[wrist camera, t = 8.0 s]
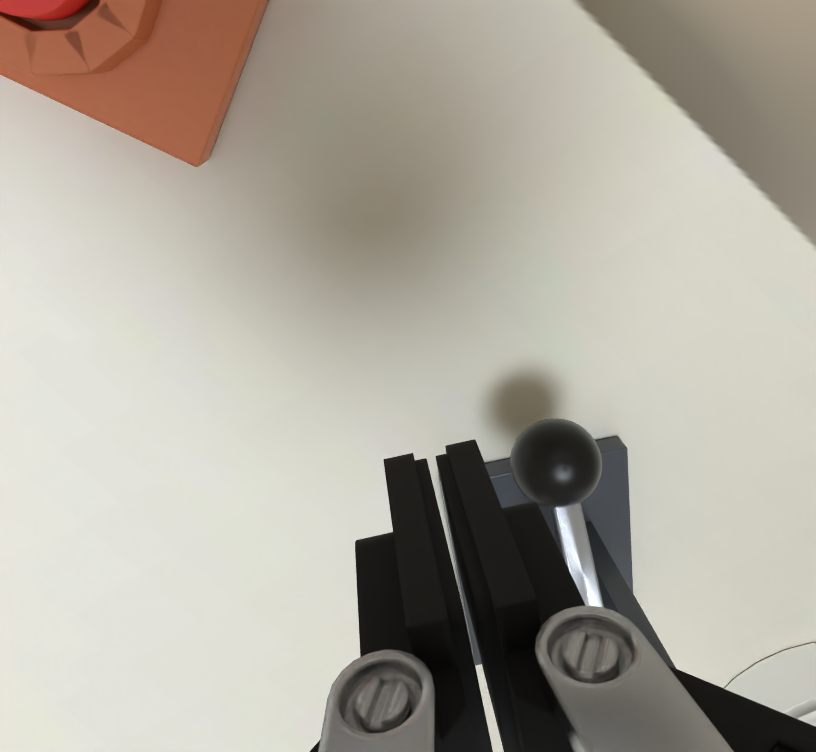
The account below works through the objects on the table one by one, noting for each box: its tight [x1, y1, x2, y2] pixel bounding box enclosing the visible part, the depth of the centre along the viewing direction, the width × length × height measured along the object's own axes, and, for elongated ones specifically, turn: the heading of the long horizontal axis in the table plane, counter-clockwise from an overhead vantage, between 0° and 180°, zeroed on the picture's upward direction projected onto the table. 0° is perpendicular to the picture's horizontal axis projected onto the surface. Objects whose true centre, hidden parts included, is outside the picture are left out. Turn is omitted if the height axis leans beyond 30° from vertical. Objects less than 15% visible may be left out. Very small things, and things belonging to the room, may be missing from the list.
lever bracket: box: [439, 436, 676, 669], centre depth 30 cm, size 12×9×12 cm
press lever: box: [510, 418, 604, 608], centre depth 26 cm, size 13×4×4 cm
